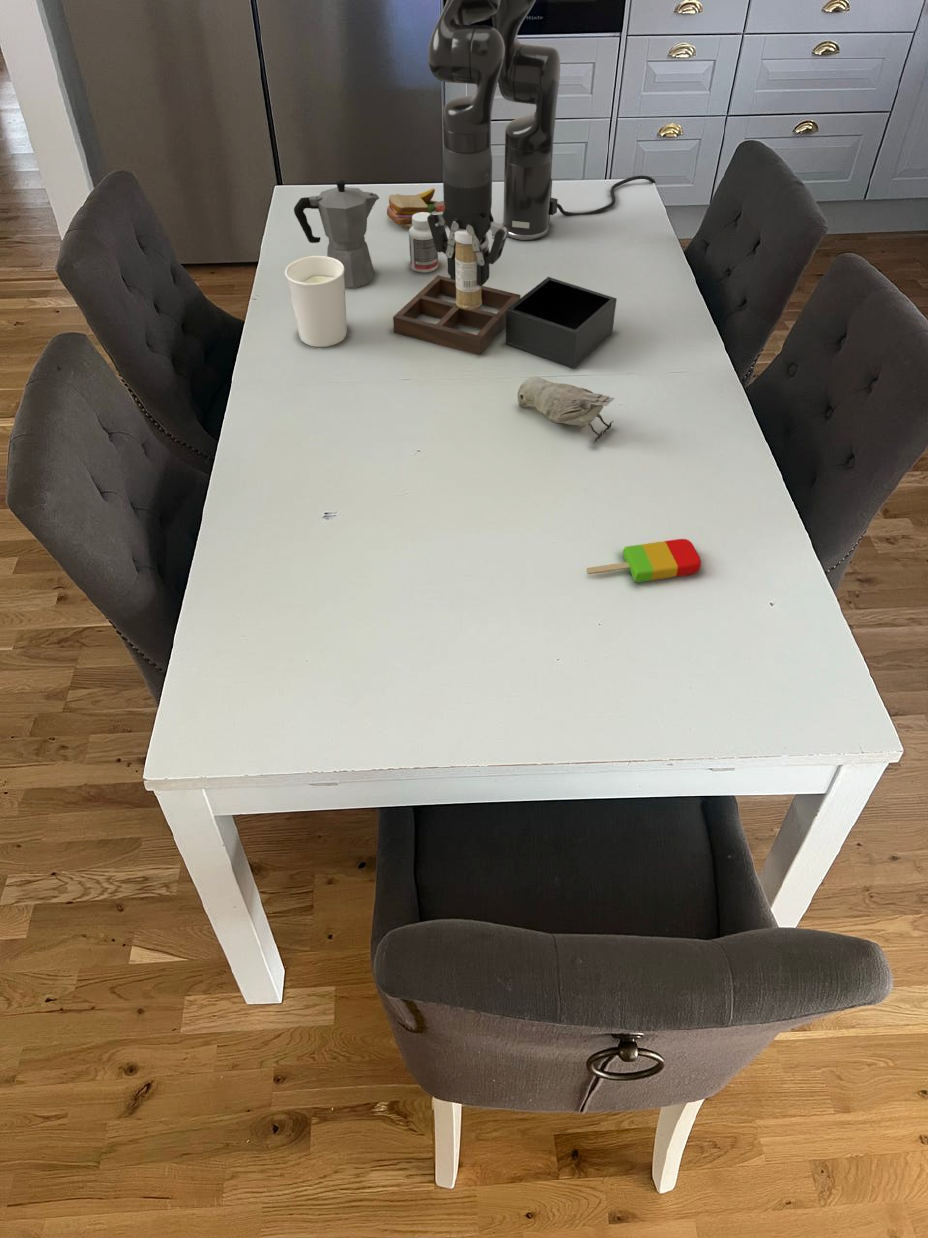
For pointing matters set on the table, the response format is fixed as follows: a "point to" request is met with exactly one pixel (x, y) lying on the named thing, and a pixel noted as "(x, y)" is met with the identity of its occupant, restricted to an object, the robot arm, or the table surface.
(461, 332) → the wooden cubby shelf
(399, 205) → the toy sandwich meal
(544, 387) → the decorative bird
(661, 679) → the table surface
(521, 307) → the open box
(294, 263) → the candle holder
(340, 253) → the coffeepot
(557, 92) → the robot arm
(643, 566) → the popsicle
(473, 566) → the table surface
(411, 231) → the pill bottle
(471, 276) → the sprinkles bottle
